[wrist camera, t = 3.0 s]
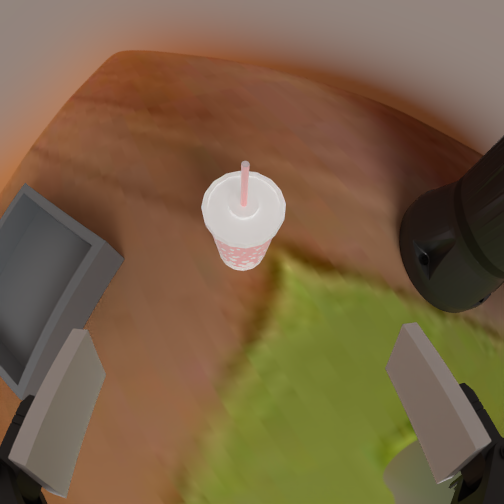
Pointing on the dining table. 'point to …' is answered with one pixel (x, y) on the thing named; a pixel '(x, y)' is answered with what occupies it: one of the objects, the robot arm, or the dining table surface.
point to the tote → (45, 285)
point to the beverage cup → (243, 216)
